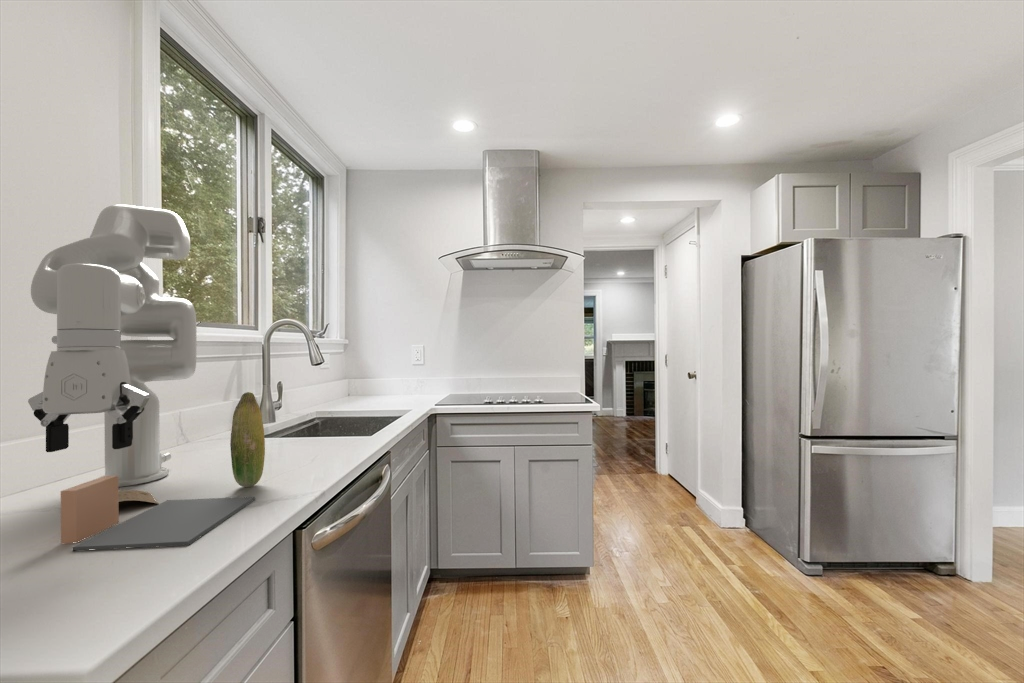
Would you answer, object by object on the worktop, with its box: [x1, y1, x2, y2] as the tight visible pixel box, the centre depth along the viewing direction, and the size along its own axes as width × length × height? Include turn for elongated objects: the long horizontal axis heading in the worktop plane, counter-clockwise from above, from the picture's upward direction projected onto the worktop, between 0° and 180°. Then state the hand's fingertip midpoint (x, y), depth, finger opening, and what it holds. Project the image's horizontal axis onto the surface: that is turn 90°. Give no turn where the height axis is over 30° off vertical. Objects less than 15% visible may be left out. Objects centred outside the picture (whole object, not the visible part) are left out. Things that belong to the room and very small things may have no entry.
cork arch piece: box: [118, 489, 159, 505], centre depth 83 cm, size 14×10×3 cm
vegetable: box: [229, 391, 266, 488], centre depth 94 cm, size 6×6×20 cm
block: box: [60, 475, 120, 544], centre depth 72 cm, size 8×2×8 cm, turn 5°
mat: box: [71, 496, 256, 551], centre depth 76 cm, size 20×16×1 cm
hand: (90, 449), depth 71 cm, fingers open, 9 cm apart
